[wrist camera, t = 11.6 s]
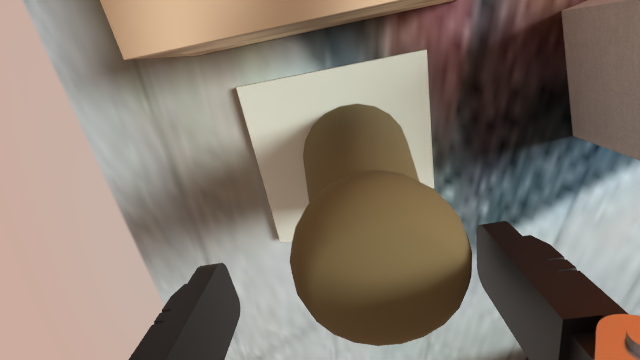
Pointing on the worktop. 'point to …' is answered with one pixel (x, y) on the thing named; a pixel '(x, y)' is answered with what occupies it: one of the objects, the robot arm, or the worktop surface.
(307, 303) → the cork
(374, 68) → the cream mat
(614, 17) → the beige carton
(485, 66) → the worktop surface
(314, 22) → the open rectangular wooden frame
